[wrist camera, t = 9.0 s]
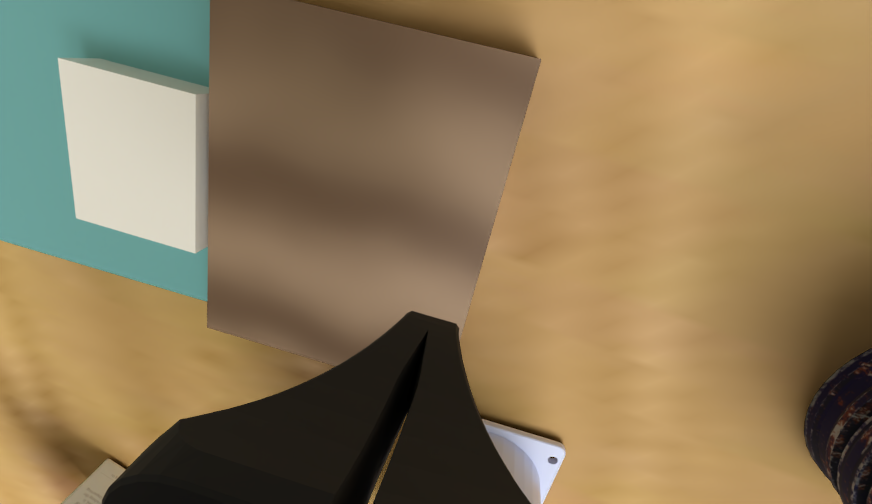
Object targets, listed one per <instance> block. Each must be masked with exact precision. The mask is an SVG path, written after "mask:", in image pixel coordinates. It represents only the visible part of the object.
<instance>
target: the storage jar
mask: <svg viewBox="0 0 872 504" xmlns="http://www.w3.org/2000/svg"><path fill="white" fill-rule="evenodd" d="M804 435H805V441H806V446H807V448H808V450H809V453H810V455H811V457H812V458H813V460H814V461H815V462H816V464H817V465H818V467H819V468H820V469H821V471H822V472H823V473H824V475H825V476H826V477H827V478H828V479H829V480H830V481H831V483H832V485H833V487H834V488H835V490H836V491H837V492H838V494H839V495H840V497H841V500H842V502H843V504H872V349H869V350H868V351H866V352H864V353H862V354H861V355H859V356H857V357H855V358H853V359H852V360H851V361H849V362H848V363H846V364H845V365H844V366H842V367H841V368H840V369H838V370H837V371H836V372H835V373H834V374H833V375H832V376H831V377H830V378H829V379H828V380H827V381H826V382H825V383H824V384H823V385H822V387H821V388H820V389H819V391H818V392H817V393H816V395H815V396H814V398H813V400H812V402H811V404H810V406H809V408H808V412H807V415H806V419H805V428H804Z"/></svg>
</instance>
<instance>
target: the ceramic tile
mask: <svg viewBox="0 0 872 504" xmlns="http://www.w3.org/2000/svg"><path fill="white" fill-rule="evenodd" d="M58 65H59V74H60V83H61V91H62V100H63V109H64V118H65V126H66V135H67V144H68V152H69V161H70V170H71V179H72V187H73V196H74V205H75V213H76V218H77V219H80V220H84V221H87V222H90V223H94V224H97V225H100V226H104V227H107V228H111V229H114V230H117V231H121V232H124V233H127V234H131V235H134V236H138V237H141V238H144V239H148V240H151V241H155V242H158V243H161V244H165V245H168V246H171V247H175V248H178V249H182V250H185V251H188V252H192V253H197V252H199V251H201V250H202V249H204V248H206V247H208V167H209V87H206V86H202V85H198V84H195V83H191V82H187V81H183V80H179V79H176V78H172V77H168V76H164V75H161V74H157V73H153V72H149V71H146V70H142V69H138V68H134V67H130V66H127V65H123V64H119V63H115V62H112V61H108V60H104V59H100V58H58Z"/></svg>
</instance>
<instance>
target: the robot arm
mask: <svg viewBox="0 0 872 504" xmlns="http://www.w3.org/2000/svg"><path fill="white" fill-rule="evenodd" d="M407 412H408V413H407ZM406 414H407V418H406V420H405V423H404V426H403V429H402V431H401V434H400V437H399V439H398V442H397V445H396V447H395V450H394V452H393V455H392V458H391V460H390V463H389V465H388V468H387V470H386V473H385V475H384V478H383V480H382V483H381V485H380V488H379V490H378V492H377V495H376V497H375V500H374V502H373V504H543V502H544V500H545V498H546V496H547V494H548V491H549V489H550V487H551V485H552V483H553V481H554V479H555V476H556V474H557V472H558V470H559V468H560V466H561V464H562V461H563V459H564V457H565V447H564V445H563V444H562V443H560V442H557V441H554V440H550V439H547V438H544V437H541V436H537V435H534V434H531V433H527V432H524V431H521V430H518V429H514V428H511V427H508V426H504V425H501V424H498V423H495V422H491V421H488V420H485V419H481V416H480V414H479V412H478V409H477V406H476V404H475V401H474V398H473V395H472V392H471V389H470V386H469V383H468V380H467V376H466V372H465V368H464V364H463V360H462V355H461V349H460V342H459V327H458V326H457V324H456V323H453V322H449V321H446V320H442V319H439V318H435V317H432V316H428V315H425V314H421V313H418V312H414V311H410V312H408V313H406V315H405V316H404V317H403V318H402V319H400V320H399V321H398V322H397V323H396V324H395V325H394V326H393V327H391V328H390V329H389V330H388V331H387V332H386V333H384V334H383V335H382V336H380V337H379V338H378V339H376V340H375V341H374V342H373V343H371V344H370V345H369V346H367V347H366V348H364V349H363V350H361V351H360V352H358V353H357V354H355V355H354V356H352V357H351V358H349V359H348V360H346V361H344V362H343V363H341V364H339V365H338V366H336V367H334V368H332V369H331V370H329V371H327V372H325V373H323V374H321V375H319V376H317V377H315V378H313V379H311V380H309V381H307V382H304V383H302V384H300V385H298V386H295V387H293V388H291V389H288V390H286V391H283V392H281V393H278V394H275V395H272V396H269V397H266V398H264V399H261V400H257V401H254V402H251V403H247V404H244V405H241V406H237V407H233V408H230V409H226V410H221V411H217V412H213V413H208V414H204V415H200V416H195V417H191V418H186V419H181V420H179V421H178V422H177V423H175V424H174V425H173V426H172V427H171V428H170V429H168V430H167V431H166V432H165V433H164V434H162V435H161V436H160V437H159V438H158V439H157V440H155V441H154V442H153V443H152V444H151V445H150V446H149V447H148V448H147V449H146V450H145V451H144V452H143V453H142V454H141V455H140V456H139V457H138V458H137V459H136V460H135V461H134V462H133V463H132V464H131V465H130V466H129V467H128V468H127V469H126V470H125V471H124V472H123V473H122V474H121V475H120V476H119V477H118V478H117V479H116V480H115V481H114V482H113V483H112V484H111V485H110V486H109V487H108V489H107V491H106V493H105V495H104V497H103V499H102V504H368V502H369V499H370V497H371V494H372V492H373V489H374V487H375V484H376V482H377V480H378V477H379V475H380V473H381V471H382V468H383V466H384V464H385V462H386V459H387V457H388V455H389V453H390V450H391V448H392V446H393V444H394V441H395V439H396V437H397V435H398V432H399V430H400V428H401V426H402V423H403V421H404V419H405V416H406ZM550 457H555V458H550Z"/></svg>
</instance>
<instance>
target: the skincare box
mask: <svg viewBox="0 0 872 504" xmlns="http://www.w3.org/2000/svg"><path fill="white" fill-rule="evenodd" d="M125 470H126V469H124V468H123V467H122V466H120V465H118V464H117V463H115V462H114V461H112V460H111V459H106V460H105V461H104V462H103V463H102V464H101V465H100V466H99V467H98V468H97V469H96V470H95V471H94V472H93V473H92V474H91V475H90V476H89V477H88V478H87V479H86V480H85V481H84V482H83V483H82V484H81V485H80V486H79V487H77V488H76V489H75V490H74V491H73V492H72V493H71V494H70V495H69V496H68V497H67V498H66V499H65V500H64V501H63V502H62V503H61V504H102V499H103V497H104V495H105V493H106V491H107V489H108V487H109V486H110V485H111V484H112V483H113V482H114V481H115V480H116V479H117V478H118V477H119V476H120V475H121V474H122V473H123V472H124V471H125Z"/></svg>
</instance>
